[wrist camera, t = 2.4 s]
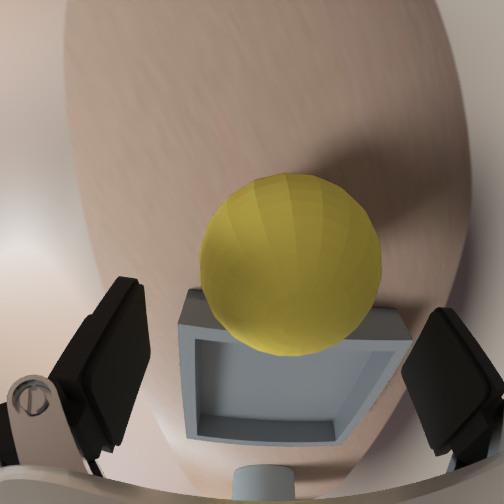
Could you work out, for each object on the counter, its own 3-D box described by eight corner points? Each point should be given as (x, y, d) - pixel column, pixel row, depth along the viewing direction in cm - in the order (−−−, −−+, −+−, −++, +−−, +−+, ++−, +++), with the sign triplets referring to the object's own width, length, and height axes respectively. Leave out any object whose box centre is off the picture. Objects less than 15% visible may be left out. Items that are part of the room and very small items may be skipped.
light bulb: (200, 224, 18) (150, 349, 9) (257, 123, 15) (258, 154, 6) (296, 274, 19) (319, 410, 10) (359, 187, 16) (451, 284, 8)
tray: (188, 289, 20) (177, 323, 17) (396, 308, 20) (413, 340, 17) (191, 409, 27) (186, 438, 24) (337, 417, 27) (341, 444, 24)
